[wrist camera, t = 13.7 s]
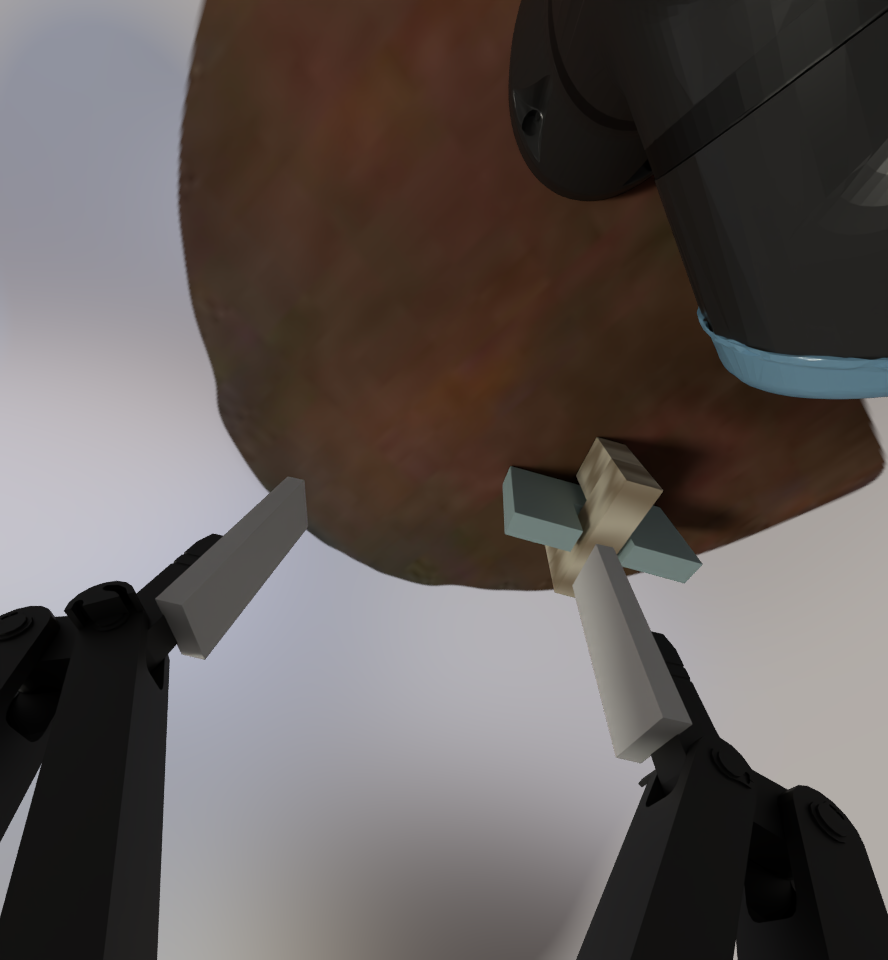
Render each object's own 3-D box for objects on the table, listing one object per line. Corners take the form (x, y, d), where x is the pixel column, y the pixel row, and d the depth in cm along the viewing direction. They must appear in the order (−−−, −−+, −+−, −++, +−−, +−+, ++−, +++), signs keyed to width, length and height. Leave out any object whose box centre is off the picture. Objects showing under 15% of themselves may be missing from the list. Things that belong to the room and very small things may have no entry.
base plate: (502, 484, 43) (504, 533, 34) (510, 465, 41) (514, 512, 33) (646, 524, 43) (684, 583, 35) (660, 507, 42) (702, 564, 33)
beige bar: (596, 437, 38) (626, 480, 29) (625, 444, 38) (663, 490, 29) (543, 536, 46) (554, 592, 38) (566, 542, 46) (583, 600, 38)
